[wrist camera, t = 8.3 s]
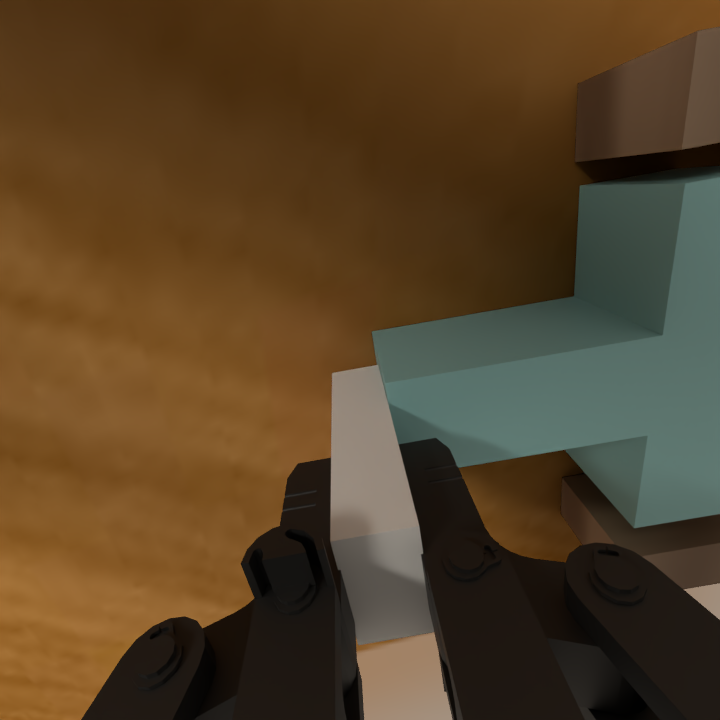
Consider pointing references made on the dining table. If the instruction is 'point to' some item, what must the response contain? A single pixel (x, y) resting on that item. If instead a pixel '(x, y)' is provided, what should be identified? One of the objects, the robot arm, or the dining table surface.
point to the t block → (591, 357)
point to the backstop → (635, 137)
